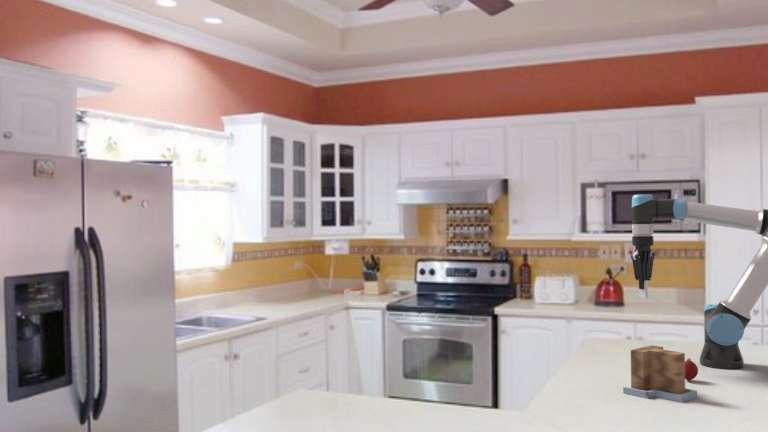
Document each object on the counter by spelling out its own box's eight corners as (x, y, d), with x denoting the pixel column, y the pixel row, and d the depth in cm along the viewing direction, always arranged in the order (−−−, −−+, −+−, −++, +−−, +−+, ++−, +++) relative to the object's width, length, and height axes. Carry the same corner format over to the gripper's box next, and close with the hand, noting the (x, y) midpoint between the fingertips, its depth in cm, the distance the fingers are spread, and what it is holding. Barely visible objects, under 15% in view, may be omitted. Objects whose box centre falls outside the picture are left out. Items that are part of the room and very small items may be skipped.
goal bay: (703, 394, 228) (703, 388, 228) (675, 404, 217) (675, 398, 217) (651, 384, 242) (651, 378, 242) (623, 393, 231) (623, 387, 231)
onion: (699, 383, 242) (699, 360, 242) (682, 382, 243) (681, 359, 243) (696, 379, 248) (695, 356, 248) (678, 378, 249) (678, 356, 249)
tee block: (691, 394, 228) (690, 351, 228) (671, 401, 221) (670, 356, 221) (651, 386, 239) (650, 345, 239) (631, 392, 232) (630, 350, 232)
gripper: (643, 234, 274) (643, 295, 274) (624, 235, 266) (624, 298, 266) (661, 234, 268) (662, 297, 268) (642, 236, 260) (643, 300, 260)
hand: (643, 297), depth 267 cm, fingers closed
